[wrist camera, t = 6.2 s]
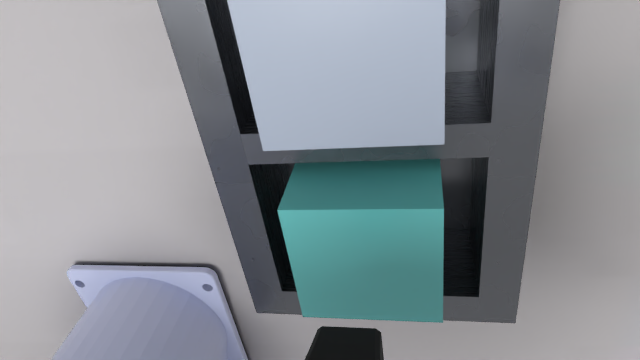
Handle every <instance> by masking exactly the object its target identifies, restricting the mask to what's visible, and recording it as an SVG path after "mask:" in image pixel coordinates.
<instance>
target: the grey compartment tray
mask: <svg viewBox="0 0 640 360" xmlns="http://www.w3.org/2000/svg"><path fill="white" fill-rule="evenodd" d="M157 2H158V5H159V8H160V12H161V15H162V18H163V21H164V24H165V27H166V30H167V33H168V37H169V40H170V43H171V46H172V49H173V52H174V55H175V58H176V62H177V65H178V68H179V71H180V74H181V77H182V80H183V84H184V87H185V90H186V93H187V96H188V99H189V102H190V105H191V109H192V112H193V115H194V118H195V121H196V124H197V127H198V130H199V134H200V137H201V140H202V143H203V146H204V149H205V152H206V156H207V159H208V162H209V165H210V168H211V171H212V174H213V177H214V181H215V184H216V187H217V190H218V193H219V196H220V199H221V202H222V206H223V209H224V212H225V215H226V218H227V221H228V224H229V228H230V231H231V234H232V237H233V240H234V243H235V246H236V249H237V253H238V256H239V259H240V262H241V265H242V268H243V271H244V274H245V278H246V281H247V284H248V287H249V290H250V293H251V296H252V300H253V303H254V306H255V309H256V312H257V313H274V314H299V315H302V311H301V307H300V302H299V298H298V294H297V290H296V286H295V282H294V277H293V273H292V269H291V265H290V261H289V257H288V252H287V248H286V244H285V240H284V236H283V232H282V227H281V223H280V219H279V215H278V211H277V210H278V207H279V205H280V202H281V199H282V197H283V194H284V191H285V189H286V186H287V183H288V181H289V178H290V176H291V173H292V170H293V168H294V165H295V163H317V162H350V161H383V160H416V159H440V166H441V178H442V191H443V203H444V259H443V320H449V321H475V322H500V323H515V322H516V315H517V307H518V300H519V293H520V286H521V279H522V271H523V264H524V257H525V250H526V242H527V235H528V228H529V221H530V213H531V206H532V199H533V192H534V185H535V177H536V170H537V163H538V156H539V148H540V141H541V134H542V127H543V120H544V112H545V105H546V98H547V91H548V83H549V76H550V69H551V62H552V54H553V47H554V40H555V33H556V26H557V18H558V11H559V4H560V0H446V26H445V143H444V144H443V145H416V146H389V147H361V148H334V149H307V150H280V151H263V148H262V144H261V140H260V136H259V132H258V127H257V123H256V119H255V115H254V111H253V107H252V102H251V98H250V94H249V90H248V86H247V81H246V77H245V73H244V69H243V65H242V61H241V56H240V52H239V48H238V44H237V40H236V36H235V31H234V27H233V23H232V19H231V15H230V11H229V6H228V2H227V0H157Z"/></svg>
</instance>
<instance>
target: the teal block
mask: <svg viewBox="0 0 640 360" xmlns="http://www.w3.org/2000/svg"><path fill="white" fill-rule="evenodd" d="M277 211H278V215H279V219H280V223H281V227H282V232H283V236H284V240H285V244H286V248H287V252H288V257H289V261H290V265H291V269H292V273H293V277H294V282H295V286H296V290H297V294H298V298H299V302H300V307H301V311H302V315H303V317H319V318H344V319H368V320H392V321H417V322H441V323H443V259H444V203H443V191H442V178H441V166H440V159H416V160H383V161H350V162H317V163H295V165H294V168H293V170H292V173H291V176H290V178H289V181H288V183H287V186H286V189H285V191H284V194H283V197H282V199H281V202H280V205H279V207H278V210H277Z"/></svg>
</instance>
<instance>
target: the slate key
mask: <svg viewBox="0 0 640 360" xmlns="http://www.w3.org/2000/svg"><path fill="white" fill-rule="evenodd" d="M227 2H228V6H229V11H230V15H231V19H232V23H233V27H234V31H235V36H236V40H237V44H238V48H239V52H240V56H241V61H242V65H243V69H244V73H245V77H246V81H247V86H248V90H249V94H250V98H251V102H252V107H253V111H254V115H255V119H256V123H257V127H258V132H259V136H260V140H261V144H262V148H263V151H280V150H307V149H334V148H361V147H389V146H416V145H443V144H444V143H445V26H446V0H227Z"/></svg>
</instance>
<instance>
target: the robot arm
mask: <svg viewBox="0 0 640 360" xmlns="http://www.w3.org/2000/svg"><path fill="white" fill-rule="evenodd" d="M67 276H68V278H69V280H70V281H71V283H72V284H73V286H74V288H75V289H76V291H77V293H78V294H79V296H80V297H81V299H82V301H83V302H84V304H85V306H86V307H87V310H86V311H85V312H84V314H83V315H82V317H81V318H80V319H79V321H78V322H77V324H76V325H75V326H74V328H73V329H72V331H71V332H70V334H69V335H68V336H67V338H66V339H65V341H64V342H63V343H62V345H61V346H60V348H59V349H58V350H57V352H56V353H55V355H54V356H53V357H52V359H51V360H248V358H247V356H246V353H245V350H244V347H243V345H242V342H241V339H240V336H239V334H238V331H237V328H236V326H235V323H234V320H233V317H232V315H231V312H230V309H229V306H228V304H227V301H226V298H225V295H224V293H223V290H222V287H221V284H220V282H219V279H218V276H217V274H216V273H215V271H213V270H212V269H210V268H206V267H163V266H110V265H72V266H71V267H70V268H69V269H68V271H67ZM305 360H384V357H383V347H382V338H381V332H380V331H378V330H377V329H372V328H348V327H324V326H322V327H320V328H319V329H318V330H317V333H316V335H315V338H314V340H313V342H312V345H311V347H310V349H309V352H308V354H307V356H306V358H305Z"/></svg>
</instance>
